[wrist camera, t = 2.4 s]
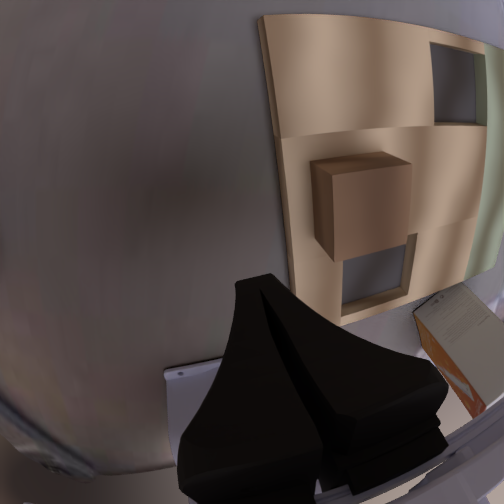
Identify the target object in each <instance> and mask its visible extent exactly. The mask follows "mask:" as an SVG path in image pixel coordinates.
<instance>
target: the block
mask: <svg viewBox="0 0 504 504" xmlns="http://www.w3.org/2000/svg"><path fill="white" fill-rule="evenodd" d="M412 165H413V164H411V163H409V162H407V161H405V160H402V159H400V158H398V157H395V156H393V155H391V154H388V153H386V152H384V151H382V152H373V153H364V154H356V155H348V156H341V157H333V158H326V159H319V160H313V161H310V172H311V186H312V200H313V216H314V234H315V239H316V241H317V242H318V243H319V244H320V246H321V247H322V248H323V249H324V251H325V252H326V253H327V254H328V256H329V257H330V258H331V259H332V261H333V262H334V263H336V262H340V261H344V260H347V259H351V258H355V257H359V256H363V255H366V254H370V253H374V252H378V251H381V250H385V249H389V248H392V247H396V246H400V245H403V244H407V235H408V226H409V215H410V203H411V188H412Z"/></svg>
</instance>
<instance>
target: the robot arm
mask: <svg viewBox="0 0 504 504" xmlns="http://www.w3.org/2000/svg"><path fill="white" fill-rule="evenodd" d="M235 290H236V300H235V310H234V316H233V322H232V327H231V331H230V335H229V340H228V343H227V347H226V350H225V353H224V356H223V358H221V359H217V360H212V361H207V362H202V363H197V364H192V365H187V366H182V367H177V368H171V369H167V370H165V371H164V377H165V379H166V384H167V413H168V433H169V441H170V446H171V451H172V455H173V458H174V461H175V463H176V466H177V474H178V484H179V489H180V490H181V491H182V493H184V494H185V495H187V496H188V498H189V504H359V503H361V502H364V501H366V500H369V499H371V498H374V497H376V496H378V495H380V494H383V493H385V492H387V491H389V490H391V489H394V488H396V487H398V486H400V485H402V484H404V483H406V482H408V481H410V480H412V479H414V478H416V477H417V476H419V475H421V474H423V473H425V472H427V471H428V470H430V469H432V468H433V467H435V466H437V465H439V464H440V463H442V462H443V463H442V464H440V465H439V466H437V467H436V468H435V469H433V470H432V471H430V472H429V473H427V474H426V476H425V478H424V479H423V480H421V481H420V482H419V483H418V484H417V485H416V486H414V487H413V488H411V489H410V490H409V492H408V493H407V494H405V495H403V496H401V497H399V498H397V499H395V500H393V501H391V502H388V503H386V504H490V503H489V501H488V499H487V497H486V495H487V494H489V493H490V492H491V491H492V490H493V489H494V488H496V487H497V486H498V485H499V484H500V483H501V482H502V481H504V397H503V398H501V399H500V400H499V401H497V402H496V403H495V404H493V405H492V406H491V407H489V408H488V409H487V410H485V411H484V412H483V413H481V414H480V415H478V416H477V417H475V418H474V419H473V420H471V421H470V422H468V423H467V424H465V425H464V426H462V427H460V428H459V429H457V430H456V431H454V432H453V433H451V434H449V435H448V436H446V437H444V436H443V434H442V433H441V431H440V429H439V428H438V426H440V424H441V423H440V420H439V418H438V417H437V415H436V412H437V411H438V409H439V408H440V406H441V404H442V403H443V401H444V400H445V398H446V395H447V393H448V388H449V385H448V383H447V382H446V381H445V379H444V378H443V376H442V375H441V373H440V372H439V371H438V370H437V368H436V367H435V366H434V365H433V364H432V363H431V362H430V361H429V360H426V359H422V358H418V357H414V356H410V355H406V354H402V353H399V352H395V351H393V350H390V349H387V348H384V347H381V346H378V345H376V344H373V343H371V342H369V341H367V340H364V339H362V338H360V337H357V336H355V335H353V334H351V333H349V332H347V331H346V330H344V329H342V328H340V327H339V326H337V325H335V324H334V323H332V322H330V321H329V320H327V319H326V318H324V317H323V316H321V315H320V314H318V313H317V312H316V311H314V310H313V309H312V308H310V307H309V306H308V305H306V304H305V303H304V302H303V301H301V300H300V299H299V298H298V297H296V296H295V295H294V294H293V293H292V292H291V291H290V290H289V289H287V288H286V287H285V286H284V285H283V284H282V283H281V282H280V281H279V280H278V279H277V278H276V277H275V276H274V275H273V274H271V273H269V274H265V275H261V276H257V277H252V278H248V279H244V280H240V281H237V282H236V283H235ZM445 460H446V461H445ZM444 461H445V462H444ZM24 504H33V503H28V502H25V503H24Z"/></svg>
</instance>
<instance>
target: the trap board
mask: <svg viewBox="0 0 504 504" xmlns="http://www.w3.org/2000/svg"><path fill="white" fill-rule="evenodd" d="M257 24H258V30H259V36H260V42H261V49H262V55H263V62H264V68H265V75H266V82H267V89H268V96H269V103H270V111H271V118H272V125H273V133H274V141H275V149H276V157H277V165H278V173H279V182H280V191H281V200H282V209H283V218H284V228H285V237H286V247H287V258H288V268H289V279H290V290H291V292H292V293H293V294H294V295H295V296H296V297H298V298H299V299H300V300H301V301H303V302H304V303H305V304H306V305H308V306H309V307H310V308H312V309H313V310H314V311H316V312H317V313H318V314H320V315H321V316H323V317H324V318H326V319H327V320H329V321H330V322H332V323H334V324H335V325H337V326H342V325H346V324H349V323H352V322H355V321H358V320H361V319H364V318H367V317H370V316H373V315H376V314H379V313H382V312H385V311H387V310H390V309H393V308H396V307H399V306H401V305H404V304H407V303H409V302H412V301H415V300H417V299H420V298H423V297H425V296H428V295H430V294H433V293H435V292H438V291H440V290H443V289H445V288H448V287H450V286H452V285H455V284H457V283H460V282H462V281H464V280H467V279H469V278H471V277H473V276H476V275H478V274H480V273H482V272H485V271H487V270H489V269H491V268H493V267H494V266H495V263H496V259H497V255H498V252H499V248H500V244H501V240H502V236H503V232H504V50H502V49H499V48H497V47H494V46H491V45H488V44H485V43H482V42H479V41H476V40H473V39H470V38H466V37H463V36H460V35H456V34H452V33H448V32H445V31H441V30H436V29H432V28H428V27H423V26H418V25H413V24H407V23H402V22H396V21H389V20H382V19H374V18H366V17H355V16H342V15H323V14H280V15H263V16H262V17H261V18H260V19H259V20H258V21H257ZM382 151H384V152H386V153H388V154H391V155H393V156H395V157H398V158H400V159H402V160H405V161H407V162H409V163H411V164H413V165H412V188H411V203H410V215H409V226H408V235H407V244H403V245H400V246H396V247H392V248H389V249H385V250H381V251H378V252H374V253H370V254H366V255H363V256H359V257H355V258H351V259H347V260H344V261H340V262H336V263H334V262H333V261H332V259H331V258H330V257H329V256H328V254H327V253H326V252H325V251H324V249H323V248H322V247H321V246H320V244H319V243H318V242H317V241H316V239H315V234H314V216H313V200H312V186H311V172H310V161H313V160H319V159H326V158H333V157H341V156H348V155H356V154H364V153H373V152H382Z"/></svg>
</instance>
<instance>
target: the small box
mask: <svg viewBox="0 0 504 504" xmlns="http://www.w3.org/2000/svg"><path fill="white" fill-rule="evenodd" d="M413 314H414V317H415V320H416V323H417V326H418V330H419V334H420V338H421V343H422V348H423V349H424V350H425V352H426V353H427V354H428V356H429V357H430V358H431V360H432V361H433V362H434V364H435V365H436V366H437V368H438V369H439V371H440V372H441V373H442V375H443V376H444V377H445V379H446V380H447V382H448V383H449V384H450V386H451V387H452V389H453V390H454V392H455V393H456V394H457V396H458V397H459V399H460V400H461V402H462V403H463V405H464V406H465V408H466V409H467V410H468V412H469V414H470V415H471V416H472V418H473V419H474V418H475V417H477V416H478V415H480V414H481V413H483V412H484V411H485V410H487V409H488V408H489V407H491V406H492V405H493V404H495V403H496V402H497V401H499V400H500V399H501V398H503V397H504V323H503V322H502V321H501V320H500V319H499V318H498V317H497V316H496V315H495V314H494V313H493V312H492V311H491V310H490V309H489V308H488V307H487V306H486V305H485V304H484V303H483V302H482V301H481V300H480V299H479V298H478V297H477V296H476V295H475V294H474V293H473V292H472V291H471V290H470V289H469V288H467V287H466V286H465V285H464V284H463V283H462V282H460V283H457V284H455V285H452V286H450V287H448V288H445V289H443V290H441V291H439V292H438V293H437V294H436V295H434V296H433V297H432V298H431V299H429V300H428V301H427V302H426V303H424V304H423V305H422V306H421V307H419V308H418V309H417V310H416V311H414V312H413Z"/></svg>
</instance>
